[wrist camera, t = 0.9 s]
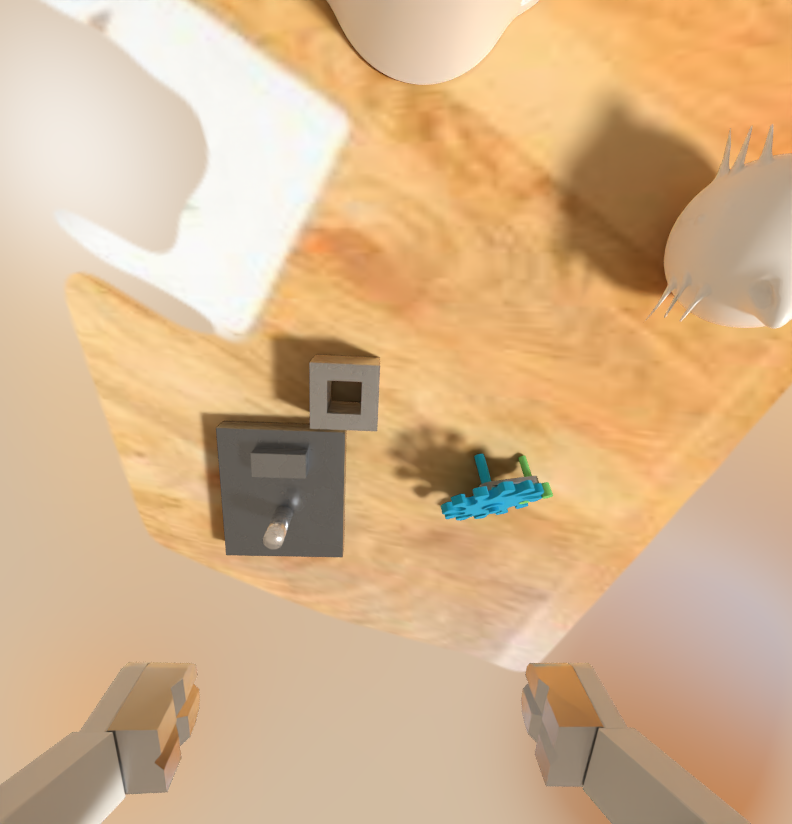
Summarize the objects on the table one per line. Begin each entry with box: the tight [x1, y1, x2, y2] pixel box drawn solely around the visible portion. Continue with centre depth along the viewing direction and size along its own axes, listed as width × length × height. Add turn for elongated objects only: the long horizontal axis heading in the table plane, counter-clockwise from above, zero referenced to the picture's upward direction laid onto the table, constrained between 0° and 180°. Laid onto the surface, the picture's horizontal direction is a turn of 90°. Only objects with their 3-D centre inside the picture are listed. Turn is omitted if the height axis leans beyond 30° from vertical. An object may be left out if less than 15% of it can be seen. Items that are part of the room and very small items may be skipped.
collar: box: [309, 354, 380, 431], centre depth 38 cm, size 6×6×4 cm
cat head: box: [645, 124, 792, 328], centre depth 32 cm, size 15×13×12 cm
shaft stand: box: [216, 421, 346, 557], centre depth 40 cm, size 14×12×6 cm
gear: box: [441, 454, 553, 520], centre depth 41 cm, size 11×6×10 cm
